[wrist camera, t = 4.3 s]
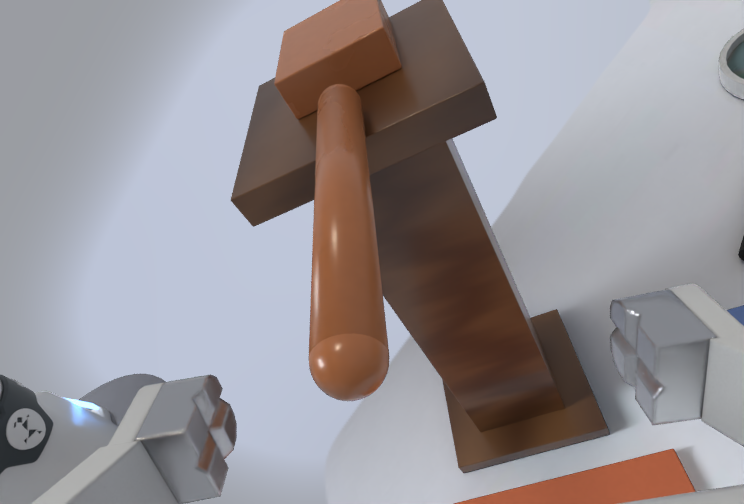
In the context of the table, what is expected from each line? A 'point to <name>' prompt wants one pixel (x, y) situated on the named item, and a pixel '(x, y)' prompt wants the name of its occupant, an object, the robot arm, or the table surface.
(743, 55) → the magnifying glass
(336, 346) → the square head mallet
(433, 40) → the brown wooden pedestal
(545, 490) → the terracotta mat
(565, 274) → the table surface
